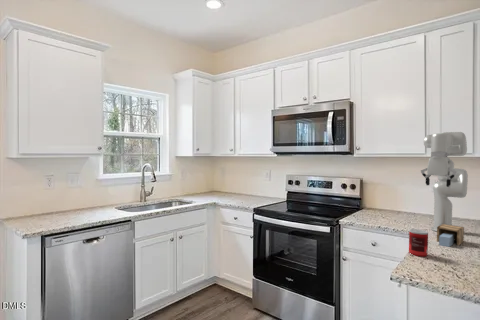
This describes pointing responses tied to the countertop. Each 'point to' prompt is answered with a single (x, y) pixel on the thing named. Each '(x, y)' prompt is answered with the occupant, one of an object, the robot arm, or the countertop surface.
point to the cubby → (451, 232)
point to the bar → (446, 239)
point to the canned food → (418, 242)
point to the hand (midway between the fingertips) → (437, 186)
